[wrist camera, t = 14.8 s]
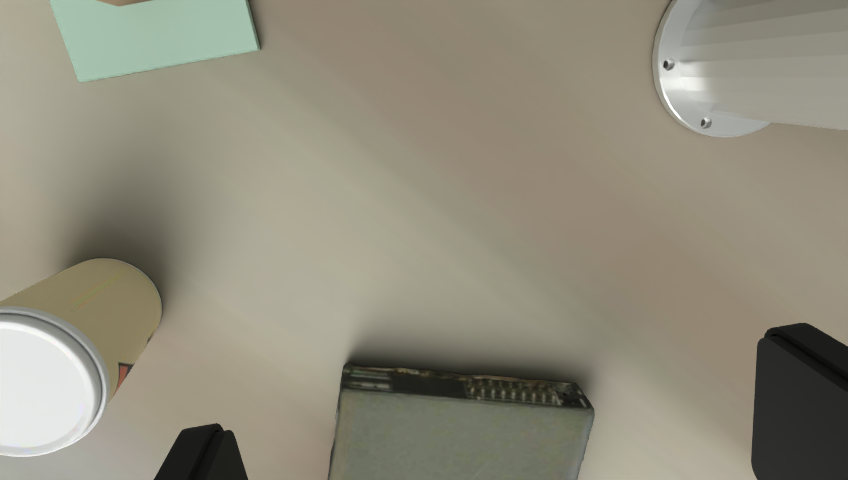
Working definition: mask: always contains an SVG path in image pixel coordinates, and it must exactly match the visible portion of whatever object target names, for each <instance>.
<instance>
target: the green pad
mask: <svg viewBox="0 0 848 480" xmlns="http://www.w3.org/2000/svg"><path fill="white" fill-rule="evenodd" d="M49 1H50V4H51V7H52V9H53V12H54V15H55V18H56V20H57V23H58V26H59V29H60V31H61V34H62V37H63V40H64V43H65V45H66V48H67V51H68V54H69V56H70V59H71V62H72V65H73V67H74V70H75V73H76V76H77V78H78V81H79V82H89V81H95V80H100V79H106V78H111V77H117V76H122V75H128V74H133V73H139V72H144V71H149V70H155V69H160V68H166V67H171V66H177V65H182V64H188V63H193V62H199V61H204V60H210V59H215V58H220V57H226V56H231V55H237V54H242V53H248V52H253V51H259V50H261V49H260V45H259V41H258V37H257V34H256V30H255V26H254V22H253V18H252V14H251V10H250V6H249V2H248V0H152V1H146V2H141V3H136V4H131V5H125V6H120V7H118V6H114V5H111V4H107V3H104V2H100V1H97V0H49Z"/></svg>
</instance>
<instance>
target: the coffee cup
mask: <svg viewBox="0 0 848 480" xmlns="http://www.w3.org/2000/svg"><path fill="white" fill-rule="evenodd" d="M161 315H162V303H161V298H160V295H159V293H158V290H157V289H156V287H155V285H154V284H153V282H152V281H151V280H150V279H149V278H148V276H147V275H146V274H144V273H143V272H142V271H141V270H139V269H138V268H136V267H135V266H133V265H131V264H128V263H126V262H124V261H120V260H117V259H110V258H98V259H91V260H87V261H84V262H81V263H79V264H77V265H74V266H72V267H70V268H68V269H65V270H63V271H61V272H59V273H57V274H55V275H53V276H51V277H49V278H47V279H45V280H43V281H41V282H39V283H37V284H35V285H33V286H31V287H29V288H27V289H25V290H23V291H21V292H19V293H17V294H15V295H13V296H11V297H9V298H7V299H5V300H3V301H1V302H0V454H1V455H7V456H17V457H27V456H37V455H43V454H47V453H50V452H53V451H57V450H59V449H61V448H64V447H66V446H68V445H71V444H73V443H75V442H76V441H78V440H80V439H81V438H82V437H84V436H85V435H86V434H87V433H88V432H89V431H90V430H92V429H93V428H94V426H95V425H96V424H97V423H98V421H99V420H100V418H101V416H102V415H103V413H104V411H105V409H106V407H107V404H108V403H109V401H110V400H111V398H112V397H113V396H114V394H115V393H116V391H117V390H118V388H119V387H120V385H121V384H122V382H123V381H124V379H125V378H126V376H127V375H128V373H129V372H130V370H131V369H132V367H133V365H134V364H135V362H136V361H137V359H138V358H139V356H140V355H141V353H142V352H143V350H144V349H145V347H146V345H147V344H148V342H149V341H150V339H151V338H152V336H153V334H154V333H155V331H156V329H157V327H158V325H159V323H160V320H161Z"/></svg>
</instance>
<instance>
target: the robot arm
mask: <svg viewBox="0 0 848 480" xmlns="http://www.w3.org/2000/svg"><path fill="white" fill-rule="evenodd" d="M664 62H665V67H663V63H664ZM652 71H653V77H654V82H655V87H656V90H657V92H658V95H659V97H660V100H661V102H662V103H663V105H664V106H665V108H666V109H667V111H668V113H669V114H670V115H671V116H672V117H673V118H674V119H675V120H676V121H677V122H678V123H680V124H681V125H683V126H684V127H686V128H688V129H689V130H691V131H694V132H697V133H700V134H703V135H707V136H713V137H737V136H742V135H747V134H750V133H752V132H755V131H758V130H760V129H762V128H764V127H766V126H767V125H769V124H771V123H772V122H776V123H785V124H794V125H803V126H812V127H821V128H830V129H839V130H848V0H672V2H671V3H670V5H669V6H668V8H667V10H666V12H665V14H664V16H663V17H662V19H661V22H660V25H659V28H658V31H657V33H656V36H655V42H654V48H653V53H652ZM701 121H702V123H701ZM751 463H752V468H753V471H754V474H755V476H756V478H757V480H848V346H846V345H844V344H842V343H841V342H839V341H837V340H836V339H834V338H832V337H830V336H829V335H827V334H825V333H824V332H822V331H820V330H819V329H817V328H815V327H813V326H812V325H809V324H807V323H798V324H792V325H786V326H780V327H774V328H771V329H769V330H767V332H766V333H765V336H764V338H762V339H760V340H759V342H758V346H757V360H756V380H755V399H754V418H753V437H752V456H751ZM154 480H248V478H247V475H246V471H245V468H244V465H243V462H242V458H241V455H240V452H239V448H238V445H237V442H236V439H235V436H234V433H233V432H232V431H231V430H226V431H224V430H223V428H222V427H221V425H220V424H217V423H216V424H210V425H204V426H198V427H192V428H187V429H184V430H182V431H181V433H180V434H179V436H178V437H177V439H176V441H175V443H174V444H173V446H172V448H171V450H170V452H169V453H168V455H167V457H166V459H165V461H164V462H163V464H162V466H161V468H160V470H159V471H158V473H157V475H156V477H155V478H154Z"/></svg>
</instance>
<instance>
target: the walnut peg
mask: <svg viewBox="0 0 848 480" xmlns="http://www.w3.org/2000/svg"><path fill="white" fill-rule="evenodd" d="M97 1H100V2H104V3H107V4H111V5H114V6H118V7H120V6H125V5H131V4H136V3H141V2H146V1H152V0H97Z"/></svg>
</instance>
